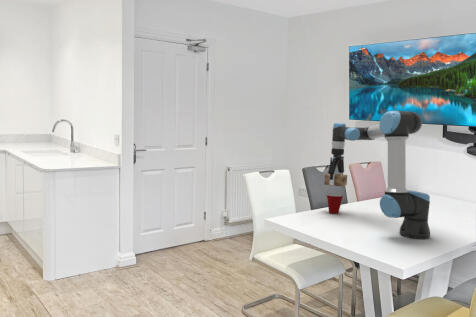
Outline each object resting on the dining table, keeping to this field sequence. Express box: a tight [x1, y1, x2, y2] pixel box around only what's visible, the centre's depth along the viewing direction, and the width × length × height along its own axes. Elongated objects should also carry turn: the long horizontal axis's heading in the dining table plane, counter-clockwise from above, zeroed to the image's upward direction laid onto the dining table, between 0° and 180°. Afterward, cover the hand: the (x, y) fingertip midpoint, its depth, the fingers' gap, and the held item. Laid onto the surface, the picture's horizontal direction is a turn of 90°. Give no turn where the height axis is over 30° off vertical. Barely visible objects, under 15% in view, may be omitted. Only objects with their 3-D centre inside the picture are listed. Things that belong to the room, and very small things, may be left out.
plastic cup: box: [326, 192, 344, 215], centre depth 276 cm, size 11×11×12 cm
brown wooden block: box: [324, 173, 348, 187], centre depth 275 cm, size 12×9×6 cm
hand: (335, 183), depth 275 cm, fingers closed on brown wooden block, 10 cm apart
